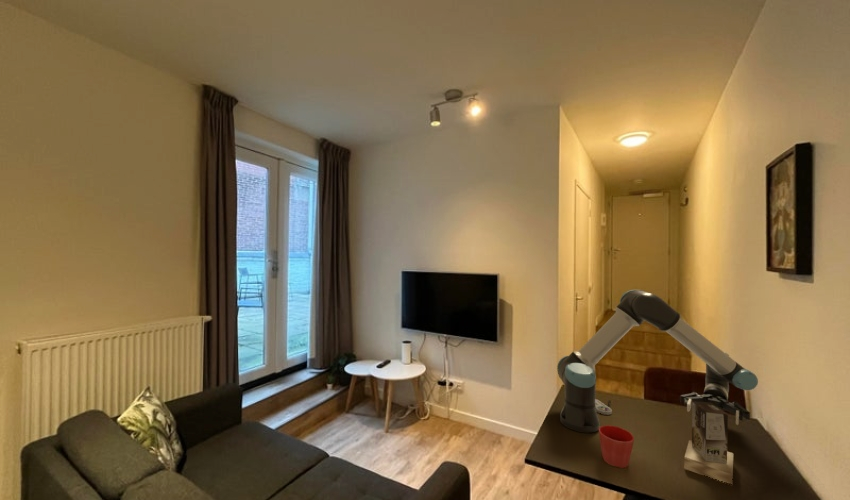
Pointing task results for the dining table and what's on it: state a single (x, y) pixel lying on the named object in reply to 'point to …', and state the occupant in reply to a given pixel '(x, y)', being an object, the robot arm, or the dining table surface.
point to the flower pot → (616, 445)
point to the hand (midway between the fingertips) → (711, 414)
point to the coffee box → (709, 431)
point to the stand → (708, 465)
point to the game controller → (602, 407)
